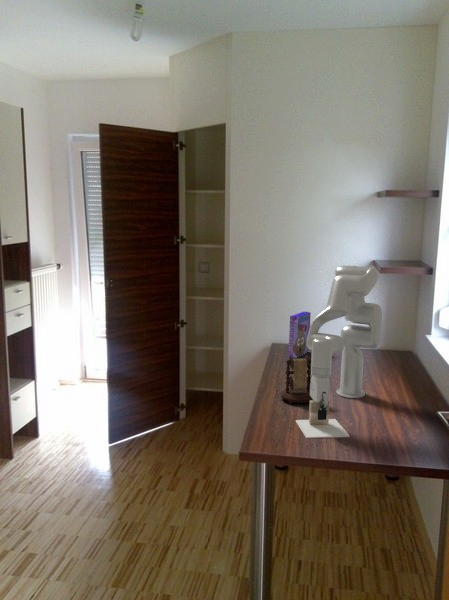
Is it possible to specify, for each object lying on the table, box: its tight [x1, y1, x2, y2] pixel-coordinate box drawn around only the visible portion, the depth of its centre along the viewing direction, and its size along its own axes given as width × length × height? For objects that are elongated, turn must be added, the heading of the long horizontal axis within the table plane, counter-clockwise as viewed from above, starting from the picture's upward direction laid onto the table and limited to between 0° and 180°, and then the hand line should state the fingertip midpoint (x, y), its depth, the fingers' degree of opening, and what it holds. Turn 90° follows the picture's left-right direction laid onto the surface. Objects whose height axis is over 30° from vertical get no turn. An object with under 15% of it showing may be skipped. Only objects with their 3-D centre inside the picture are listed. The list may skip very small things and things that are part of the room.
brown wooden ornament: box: [280, 354, 312, 405], centre depth 228 cm, size 15×15×20 cm
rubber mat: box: [295, 418, 350, 439], centre depth 198 cm, size 16×16×1 cm
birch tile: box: [308, 400, 330, 425], centre depth 201 cm, size 3×7×9 cm, turn 96°
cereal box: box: [288, 311, 312, 359], centre depth 303 cm, size 17×5×24 cm, turn 147°
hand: (318, 415), depth 201 cm, fingers open, 7 cm apart
